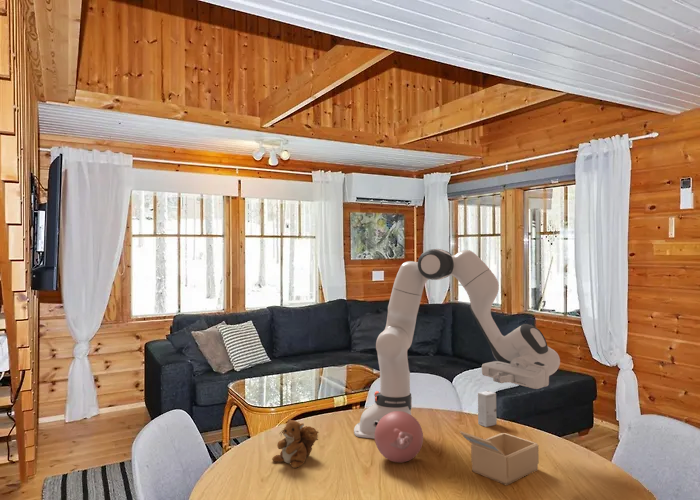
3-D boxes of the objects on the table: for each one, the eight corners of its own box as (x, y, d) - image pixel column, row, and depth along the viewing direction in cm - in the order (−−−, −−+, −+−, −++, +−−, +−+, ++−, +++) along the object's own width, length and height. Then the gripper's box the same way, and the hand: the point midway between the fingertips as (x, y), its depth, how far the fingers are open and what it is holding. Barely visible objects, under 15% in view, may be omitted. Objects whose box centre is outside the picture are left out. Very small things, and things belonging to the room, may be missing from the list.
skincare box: (486, 427, 190) (486, 395, 190) (477, 424, 194) (477, 392, 194) (497, 424, 193) (497, 392, 193) (488, 421, 197) (488, 390, 197)
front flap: (460, 430, 148) (459, 432, 148) (491, 441, 139) (490, 443, 139) (473, 442, 151) (472, 444, 151) (504, 454, 143) (503, 456, 143)
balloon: (374, 477, 148) (373, 424, 149) (375, 450, 168) (374, 404, 168) (426, 478, 147) (426, 425, 147) (421, 451, 167) (421, 405, 167)
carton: (503, 456, 162) (503, 431, 163) (540, 470, 152) (540, 443, 152) (470, 470, 152) (470, 444, 152) (508, 486, 142) (507, 457, 142)
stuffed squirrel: (269, 462, 159) (269, 420, 160) (302, 449, 170) (301, 410, 170) (290, 471, 153) (290, 427, 153) (323, 457, 163) (322, 416, 164)
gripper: (496, 354, 169) (469, 362, 160) (552, 366, 152) (525, 376, 144) (497, 372, 169) (470, 382, 161) (553, 387, 152) (526, 398, 144)
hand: (497, 379), depth 152 cm, fingers closed
